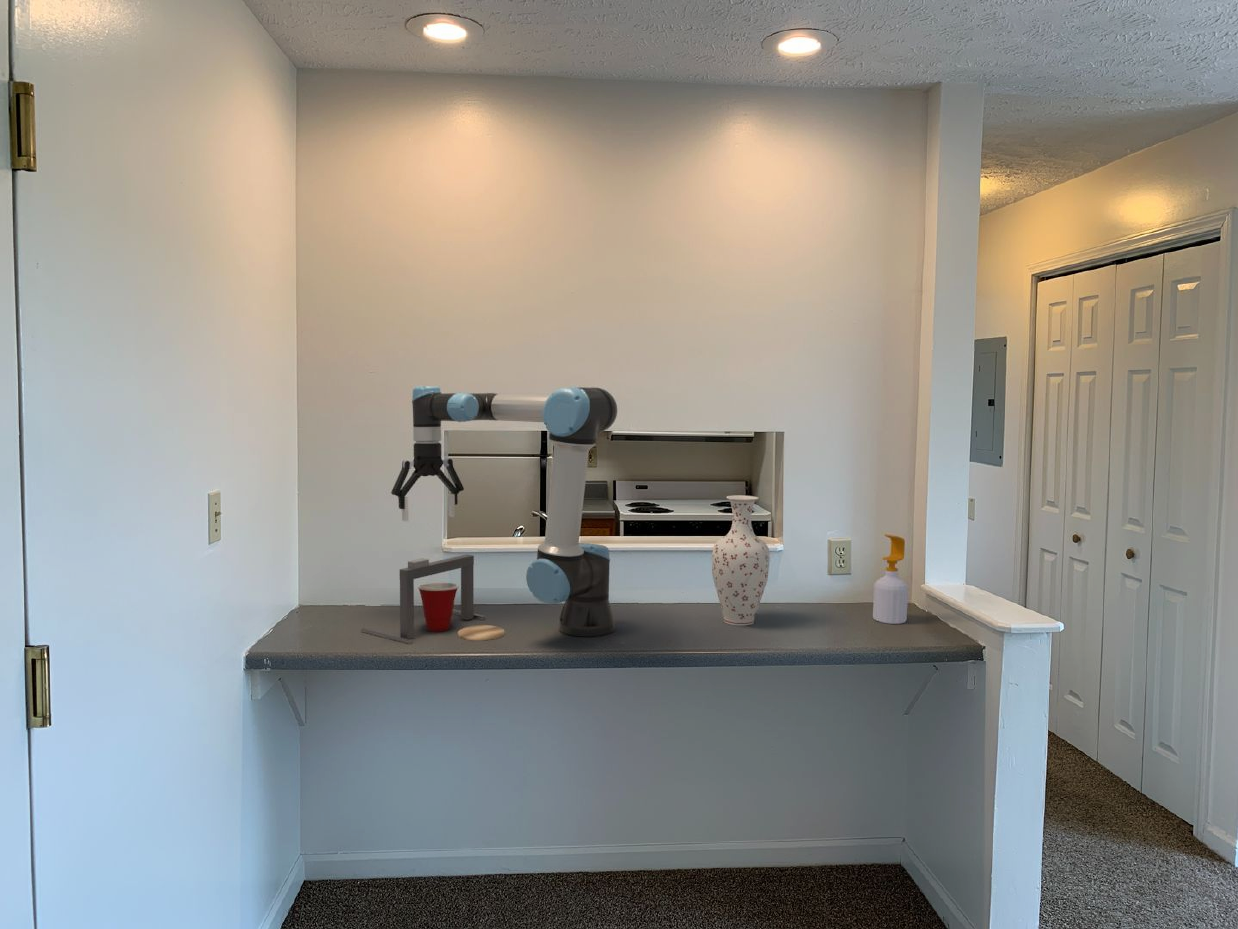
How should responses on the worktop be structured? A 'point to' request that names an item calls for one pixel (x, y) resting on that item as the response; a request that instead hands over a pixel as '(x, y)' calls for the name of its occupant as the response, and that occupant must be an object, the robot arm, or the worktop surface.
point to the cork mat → (481, 632)
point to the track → (405, 639)
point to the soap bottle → (891, 588)
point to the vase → (740, 565)
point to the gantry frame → (425, 569)
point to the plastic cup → (438, 604)
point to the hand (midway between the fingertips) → (428, 518)
